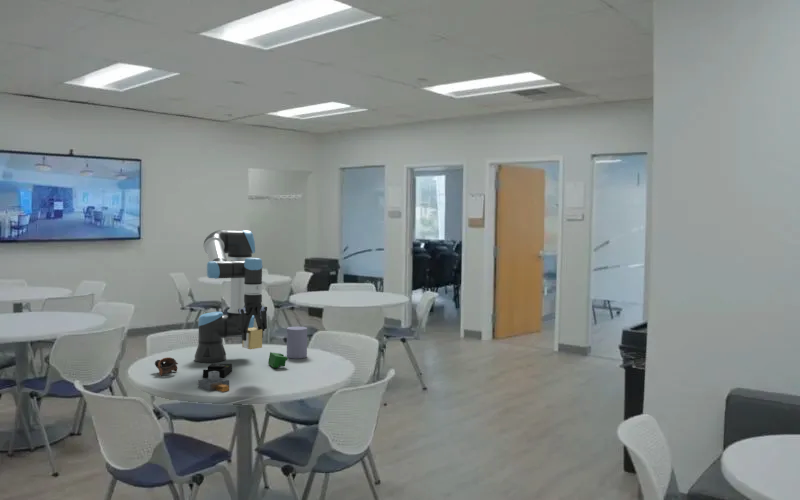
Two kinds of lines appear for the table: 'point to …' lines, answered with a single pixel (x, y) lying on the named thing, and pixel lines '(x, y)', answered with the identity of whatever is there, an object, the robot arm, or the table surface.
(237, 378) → the table surface
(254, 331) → the tan rectangular block
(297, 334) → the container
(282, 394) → the table surface
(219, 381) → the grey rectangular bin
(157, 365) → the pottery mug
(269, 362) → the clamp
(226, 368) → the battery charger
